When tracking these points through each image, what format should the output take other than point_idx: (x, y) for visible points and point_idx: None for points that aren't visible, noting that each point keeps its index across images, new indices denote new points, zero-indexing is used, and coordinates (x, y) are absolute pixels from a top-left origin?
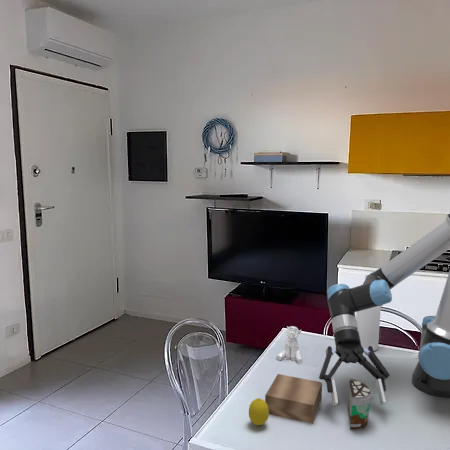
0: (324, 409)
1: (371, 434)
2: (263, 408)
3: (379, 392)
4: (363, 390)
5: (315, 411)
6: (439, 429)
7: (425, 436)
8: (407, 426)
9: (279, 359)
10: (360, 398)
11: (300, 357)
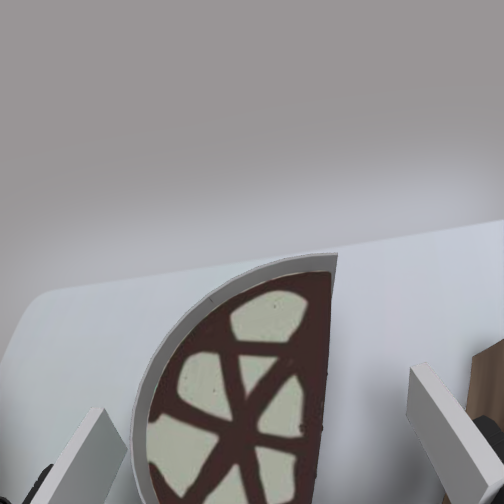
0: (420, 491)
1: None
2: None
3: (92, 475)
4: (203, 437)
5: (480, 407)
6: (9, 367)
7: (54, 332)
8: (77, 390)
9: None
10: (267, 267)
11: None
